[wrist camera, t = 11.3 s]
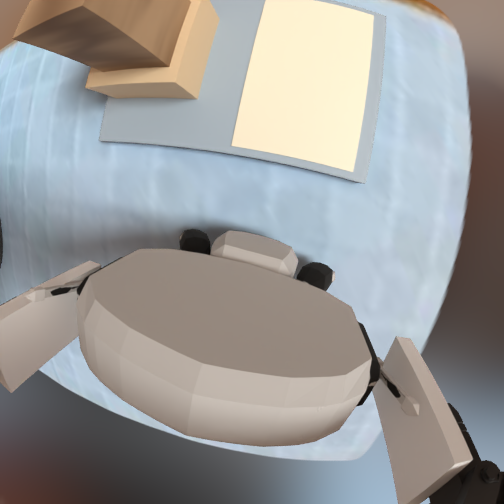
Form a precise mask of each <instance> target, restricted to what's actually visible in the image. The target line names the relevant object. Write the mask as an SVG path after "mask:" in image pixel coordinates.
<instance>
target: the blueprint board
mask: <svg viewBox="0 0 504 504" xmlns="http://www.w3.org/2000/svg"><path fill="white" fill-rule="evenodd" d="M190 2H191V4H190V7H189V9H188V12H187V14H186V17H185V20H184V23H183V26H182V28H181V31H180V34H179V37H178V40H177V43H176V47H175V50H174V53H173V56H172V60H171V63H170V67H152V68H137V69H125V70H116V71H108V72H102V71H100V70H97V69H95V68H92V67H91V69H90V72H89V75H88V79H87V82H86V86H85V88H87V89H90V90H93V91H96V92H99V93H102V94H105V95H108V98H107V102H106V106H105V111H104V115H103V120H102V125H101V130H100V136H99V141H107V142H126V143H140V144H152V145H163V146H173V147H182V148H190V149H198V150H205V151H212V152H219V153H226V154H232V155H238V156H244V157H250V158H255V159H260V160H266V161H271V162H276V163H281V164H285V165H290V166H295V167H299V168H303V169H308V170H312V171H316V172H320V173H324V174H328V175H332V176H336V177H340V178H344V179H347V180H351V181H355V182H358V183H363V184H365V183H366V178H367V173H368V168H369V163H370V158H371V153H372V147H373V141H374V136H375V129H376V123H377V116H378V109H379V102H380V94H381V85H382V76H383V65H384V52H385V34H386V16H384V15H381V14H378V13H376V12H372V11H369V10H366V9H363V8H359V7H356V6H352V5H349V4H345V3H341V2H337V1H332V0H190Z"/></svg>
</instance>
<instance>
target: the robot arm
mask: <svg viewBox="0 0 504 504" xmlns="http://www.w3.org/2000/svg"><path fill="white" fill-rule="evenodd" d="M2 254H3V241H2V228H1V220H0V268H1V263H2ZM99 269H101V264H98V263H95V262H92V261H87V262H85V263H83V264H81V265H78V266H76V267H74V268H72V269H70V270H68V271H66V272H64V273H62V274H60V275H58V276H56V277H54V278H52V279H50V280H48V281H46V282H44V283H42V284H40V285H38V286H36V287H40V286H41V287H43V288H46V287H52V286H57V285H63V284H69V283H75V282H80V281H83V280H84V279H85V277H86V276H88V275H90V274H92V273H94V272H95V271H97V270H99ZM27 293H28V291H27V292H25V293H23V294H21V295H19V296H17V297H14V298H13V299H11V300H9V301H7V302H6V303H3V304H2V305H0V383H1V384H2V385H3V386H4V387H5V388H7V389H8V390H9V391H10V392H11V393H12V392H13V391H14V390H15V389H16V388H17V387H18V386H20V385H21V384H22V383H23V382H24V381H25V380H26V379H28V378H29V377H30V376H31V375H32V374H33V373H34V372H36V371H37V370H38V369H39V368H40V367H42V366H43V365H44V364H45V363H46V362H47V361H49V360H50V359H51V358H52V357H53V356H55V355H56V354H57V353H58V352H59V351H61V350H62V349H63V348H64V347H65V346H67V345H68V344H69V343H70V342H72V341H73V340H74V339H75V338H76V337H78V336H79V333H78V325H77V315H76V302H77V291H75V292H70V293H65V294H61V295H56V296H52V297H47V298H45V300H43V301H39V302H33V301H32V300H30V299H28V298H26V297H25V296H26V294H27ZM383 368H384V369H385V370H386V371H387V372H388V374H389V375H390V376H391V377H392V378H393V379H394V380H395V381H396V382H397V383H398V385H399V386H400V387H401V388H402V389H403V390H404V391H405V392H406V393H407V395H408V396H409V397H413V398H414V399H415V400H416V401H417V402H418V403H419V415H418V416H409V415H406V414H405V413H404V411H403V410H402V409H401V404H400V402H399V401H398V400H397V399H396V397H395V396H394V395H393V394H392V393H391V391H390V390H389V389H388V388H387V386H386V385H385V384H384V383H383V381H382V380H381V379H380V378H379V380H378V382H377V383H376V385H375V386H374V388H373V389H372V391H373V395H374V398H375V402H376V405H377V409H378V413H379V417H380V420H381V424H382V428H383V432H384V437H385V441H386V445H387V449H388V453H389V458H390V463H391V468H392V472H393V478H394V483H395V488H396V494H397V500H398V504H420V503H421V502H423V501H424V500H426V499H427V498H428V497H429V498H430V503H429V504H504V472H500V470H499V468H498V467H497V465H496V464H494V463H493V462H491V461H487V460H485V461H481V459H480V457H479V455H478V452H477V450H476V448H475V446H474V444H473V441H472V439H471V437H470V435H469V433H468V432H467V429H466V427H465V425H464V424H463V421H462V419H461V417H460V415H459V413H458V412H457V410H456V409H455V408H454V407H453V406H452V405H451V404H450V403H447V402H446V400H445V398H444V396H443V395H442V393H441V391H440V389H439V387H438V385H437V383H436V382H435V380H434V378H433V376H432V374H431V373H430V371H429V369H428V367H427V366H426V364H425V362H424V360H423V359H422V357H421V355H420V354H419V352H418V350H417V349H416V347H415V345H414V344H413V342H412V340H411V339H410V338H403V337H397V336H396V337H395V340H394V342H393V344H392V346H391V348H390V350H389V352H388V354H387V356H386V358H385V360H384V365H383Z"/></svg>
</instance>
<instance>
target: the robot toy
mask: <svg viewBox="0 0 504 504" xmlns="http://www.w3.org/2000/svg"><path fill="white" fill-rule="evenodd" d="M179 239H180V250H176V249H138V250H136V251H134V252H132V253H130V254H129V255H127V256H125V257H121V258H119V259H117V260H115V261H114V262H112V263H110V264H108V265H106V266H104V267H103V268H101V269H99V270H97V271H95V272H94V273H92V274H90V275H88V276H86V277H85V279H84V280H83V281H80V282H75V283H69V284H63V285H57V286H52V287H46V288H43V287H41V286H40V287H34V288H31V289H30V290H29V291H28V293H27V294H26V296H25V297H26V298H28V299H30V300H32V301H33V302H39V301H43V300H45V298H47V297H52V296H56V295H61V294H65V293H70V292H75V291H77V302H76V315H77V325H78V333H79V341H80V348H81V351H82V353H83V356H84V358H85V360H86V362H87V364H88V366H89V368H90V370H91V371H92V372H93V374H94V375H95V376H96V377H97V378H98V379H99V380H100V381H101V382H102V383H103V384H104V385H105V386H106V387H108V388H109V389H110V390H111V391H112V392H113V393H115V394H116V395H117V396H118V397H120V398H121V399H122V400H123V401H125V402H126V403H128V404H130V405H131V406H133V407H135V408H136V409H138V410H140V411H141V412H143V413H145V414H146V415H148V416H150V417H152V418H153V419H155V420H157V421H159V422H161V423H163V424H165V425H166V426H168V427H170V428H172V429H174V430H176V431H178V432H180V433H182V434H184V435H187V436H191V437H196V438H202V439H207V440H213V441H219V442H226V443H233V444H241V445H251V446H262V447H266V446H289V445H300V444H305V443H310V442H315V441H317V440H319V439H321V438H323V437H326V436H328V435H330V434H332V433H334V432H336V431H338V430H339V429H340V428H341V426H342V425H343V424H344V422H345V421H346V420H347V418H348V417H349V415H350V414H351V413H352V411H353V410H354V408H355V407H356V406H360V405H362V404H363V403H364V401H365V400H366V399H367V397H368V396H369V394H370V392H371V391H372V389H373V388H374V386H375V385H376V383H377V382H378V380H379V378H380V379H381V380H382V381H383V383H384V384H385V385H386V386H387V388H388V389H389V390H390V391H391V393H392V394H393V395H394V396H395V397H396V399H397V400H398V401H399V402H400V404H401V409H402V410H403V411H404V413H405V414H406V415H409V416H418V415H419V403H418V402H417V401H416V400H415V399H414V398H413V397H409V396H408V395H407V393H406V392H405V391H404V390H403V389H402V388H401V387H400V386H399V385H398V383H397V382H396V381H395V380H394V379H393V378H392V377H391V376H390V375H389V374H388V372H387V371H386V370H385V369H384V368H383V365H384V362H383V361H382V360H381V359H380V358H379V357H377V356H376V354H375V351H374V349H373V347H372V344H371V342H370V340H369V337H368V335H367V332H366V330H365V328H364V326H363V324H361V323H359V322H358V321H357V319H356V317H355V314H354V312H353V309H352V307H351V306H349V305H347V304H346V303H344V302H342V301H341V300H339V299H337V298H336V297H334V296H332V295H331V294H329V293H327V292H326V291H327V289H328V288H329V286H330V284H331V283H332V282H333V281H334V280H335V272H334V271H333V270H332V269H330V268H329V267H328V266H327V265H325V264H322V263H317V262H312V263H310V264H308V265H306V266H303V267H302V269H301V271H300V272H299V274H298V276H297V279H294V278H293V277H294V274H295V271H296V267H297V264H298V259H297V257H296V255H295V253H294V251H293V249H292V247H290V246H288V245H286V244H284V243H282V242H280V241H277V240H274V239H271V238H267V237H264V236H260V235H256V234H252V233H247V232H240V231H227V232H225V233H224V234H222V235H221V236H219V237H218V238H216V240H215V241H214V243H213V245H212V248H211V252H210V241H209V238H208V236H207V234H206V233H204V232H202V231H200V230H194V229H191V230H186V231H183V233H182V234H181V236H180V237H179Z"/></svg>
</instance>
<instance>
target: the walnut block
mask: <svg viewBox="0 0 504 504" xmlns="http://www.w3.org/2000/svg"><path fill="white" fill-rule="evenodd" d="M190 4H191V2H190V0H31V1H30V3H29V4H28V6H27V8H26V10H25V12H24V14H23V16H22V18H21V20H20V22H19V25H18V27H17V29H16V31H15V34H14V36H13V39H14V40H17V41H21V42H24V43H27V44H31V45H34V46H37V47H40V48H43V49H46V50H49V51H51V52H54V53H57V54H60V55H62V56H65V57H68V58H70V59H73V60H75V61H78V62H80V63H83V64H85V65H88V66H90V67H92V68H95V69H97V70H100V71H102V72H108V71H116V70H125V69H137V68H152V67H170V63H171V60H172V56H173V53H174V50H175V47H176V43H177V40H178V37H179V34H180V31H181V28H182V26H183V23H184V20H185V17H186V14H187V12H188V9H189V7H190Z"/></svg>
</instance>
